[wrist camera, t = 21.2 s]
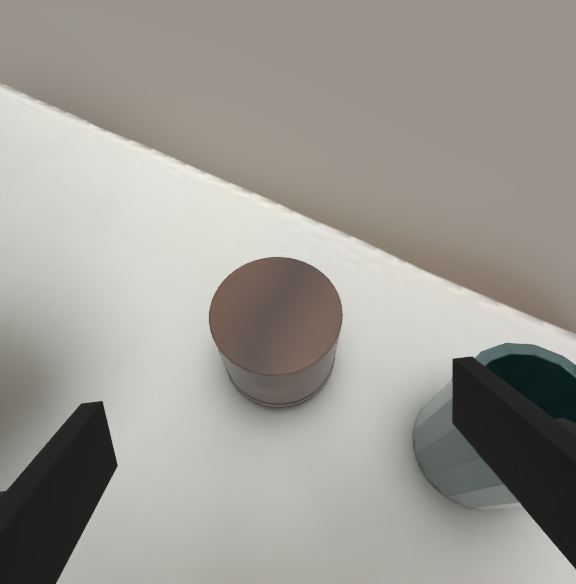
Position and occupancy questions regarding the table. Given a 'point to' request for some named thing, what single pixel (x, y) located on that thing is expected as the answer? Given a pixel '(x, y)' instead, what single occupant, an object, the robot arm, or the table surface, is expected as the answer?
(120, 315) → the table surface
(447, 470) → the canister
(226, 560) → the table surface
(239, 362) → the lid
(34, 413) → the table surface
